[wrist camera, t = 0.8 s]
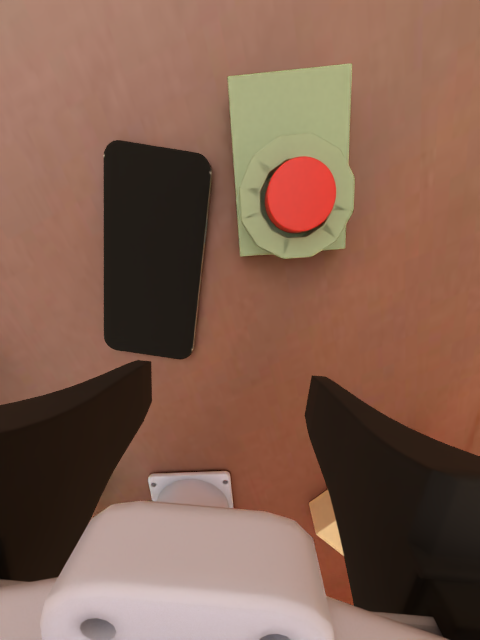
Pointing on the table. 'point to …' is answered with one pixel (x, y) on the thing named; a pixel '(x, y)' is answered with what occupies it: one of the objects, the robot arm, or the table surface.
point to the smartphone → (153, 247)
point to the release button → (300, 194)
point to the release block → (290, 151)
